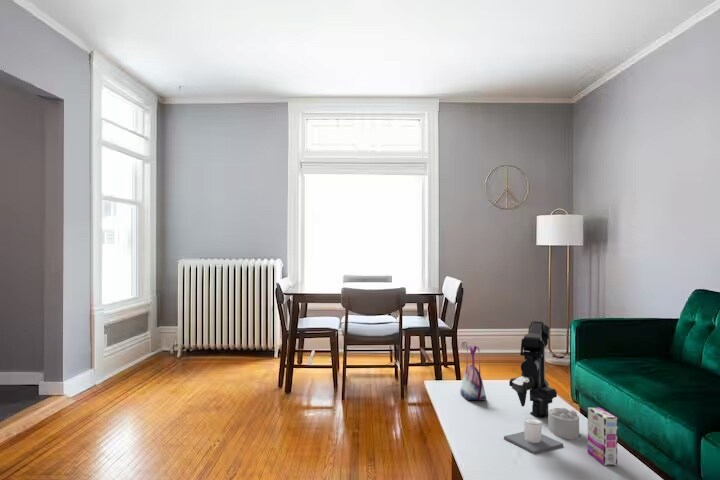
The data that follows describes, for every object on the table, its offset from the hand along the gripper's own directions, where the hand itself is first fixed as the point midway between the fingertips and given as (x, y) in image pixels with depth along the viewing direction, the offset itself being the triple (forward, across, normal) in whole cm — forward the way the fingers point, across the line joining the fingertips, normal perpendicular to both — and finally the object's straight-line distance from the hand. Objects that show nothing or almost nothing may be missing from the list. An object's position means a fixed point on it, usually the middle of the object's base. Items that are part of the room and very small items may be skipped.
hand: (532, 409), depth 186 cm
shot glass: (+11, +2, -1) cm, 11 cm away
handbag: (+12, -51, +15) cm, 55 cm away
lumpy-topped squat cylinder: (+12, 0, +18) cm, 21 cm away
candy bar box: (+12, +23, +10) cm, 27 cm away
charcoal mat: (+12, +2, -1) cm, 12 cm away
